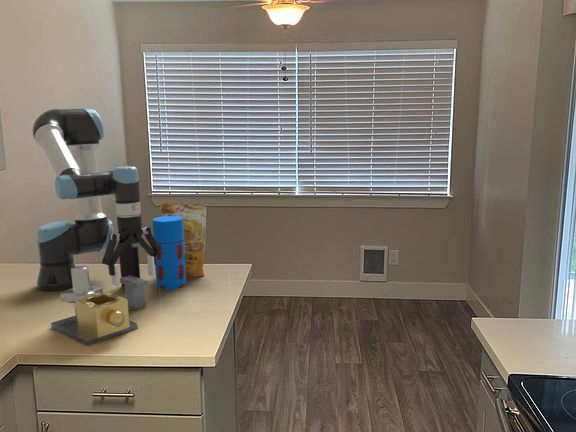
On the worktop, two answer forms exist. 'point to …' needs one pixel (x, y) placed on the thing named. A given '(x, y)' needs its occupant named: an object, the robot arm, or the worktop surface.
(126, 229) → the robot arm
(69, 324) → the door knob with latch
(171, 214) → the pancake mix bag
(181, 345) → the worktop surface
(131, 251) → the bottle
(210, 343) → the worktop surface
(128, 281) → the grey slab block
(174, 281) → the thermos
